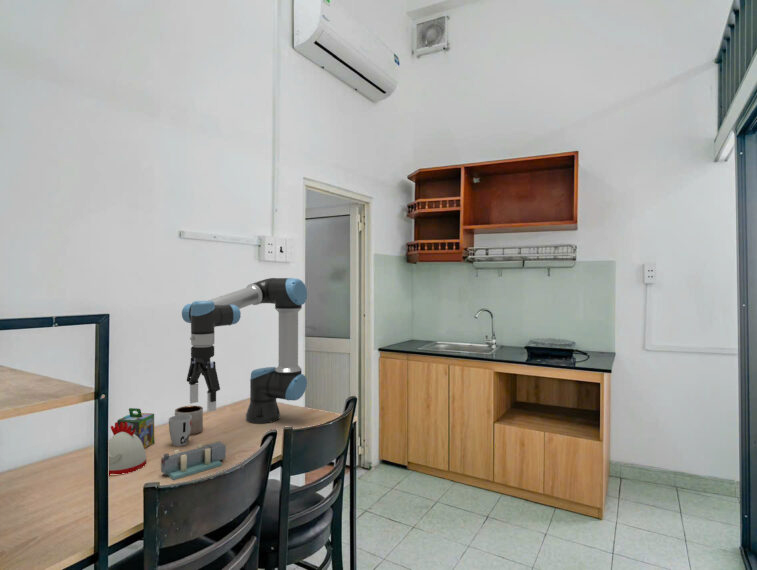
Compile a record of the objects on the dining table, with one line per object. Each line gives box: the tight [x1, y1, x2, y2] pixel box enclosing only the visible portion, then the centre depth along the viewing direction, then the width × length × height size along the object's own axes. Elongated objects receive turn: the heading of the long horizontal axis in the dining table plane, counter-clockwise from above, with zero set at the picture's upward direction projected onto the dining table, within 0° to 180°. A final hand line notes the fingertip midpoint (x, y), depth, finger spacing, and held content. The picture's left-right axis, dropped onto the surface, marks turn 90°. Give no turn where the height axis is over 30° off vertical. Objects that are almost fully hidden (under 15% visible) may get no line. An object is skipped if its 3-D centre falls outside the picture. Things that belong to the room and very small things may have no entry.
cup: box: [168, 415, 192, 447], centre depth 169 cm, size 8×8×10 cm
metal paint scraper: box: [160, 441, 227, 475], centre depth 148 cm, size 20×5×6 cm, turn 136°
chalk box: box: [116, 407, 155, 449], centre depth 165 cm, size 9×9×15 cm
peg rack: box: [166, 443, 223, 481], centre depth 147 cm, size 16×10×6 cm, turn 136°
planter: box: [174, 405, 204, 437], centre depth 182 cm, size 11×11×10 cm
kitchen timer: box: [108, 421, 147, 476], centre depth 147 cm, size 14×14×15 cm
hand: (202, 406), depth 152 cm, fingers open, 13 cm apart
